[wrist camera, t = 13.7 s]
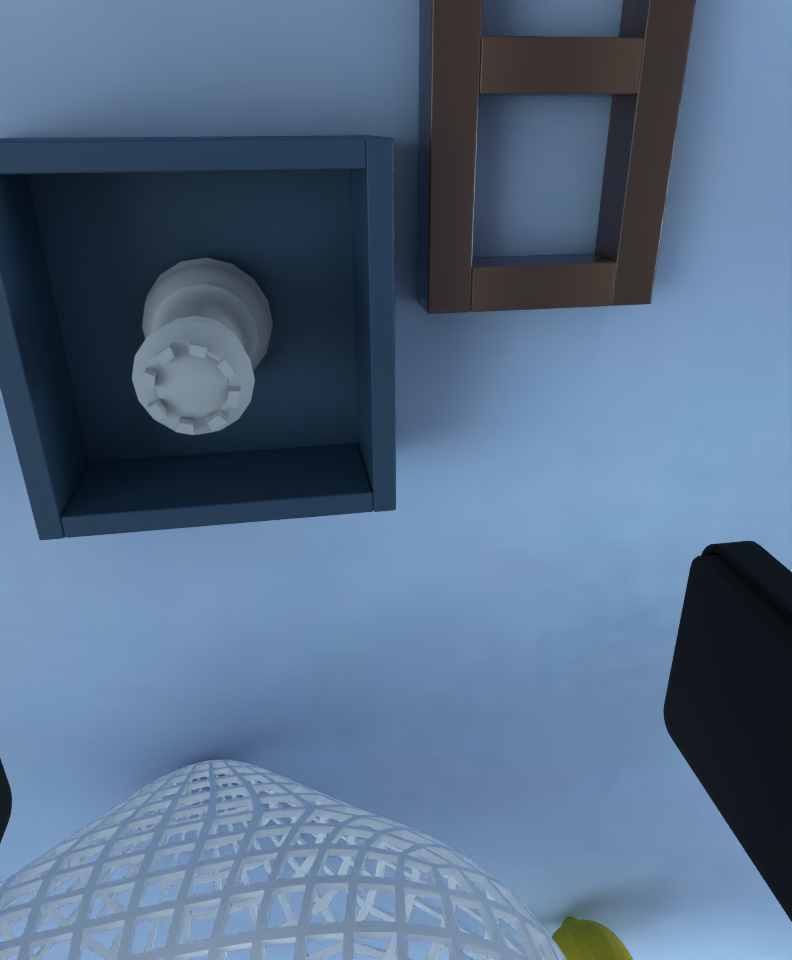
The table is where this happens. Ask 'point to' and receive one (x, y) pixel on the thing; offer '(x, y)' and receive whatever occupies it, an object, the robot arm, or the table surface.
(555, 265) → the stand
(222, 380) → the rook chess piece
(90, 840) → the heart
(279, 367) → the blue open box
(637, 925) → the table surface
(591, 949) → the lemon
